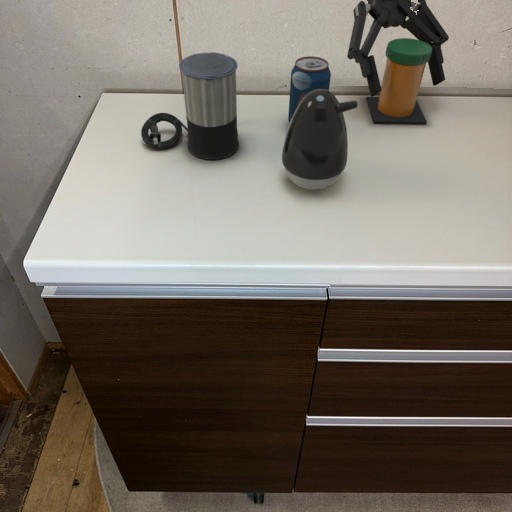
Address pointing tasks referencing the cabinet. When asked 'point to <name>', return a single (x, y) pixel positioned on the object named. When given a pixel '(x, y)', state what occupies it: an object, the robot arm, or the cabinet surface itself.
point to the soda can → (307, 79)
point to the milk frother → (203, 108)
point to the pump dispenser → (317, 140)
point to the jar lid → (408, 51)
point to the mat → (381, 118)
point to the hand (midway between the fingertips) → (408, 88)
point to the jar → (400, 88)
